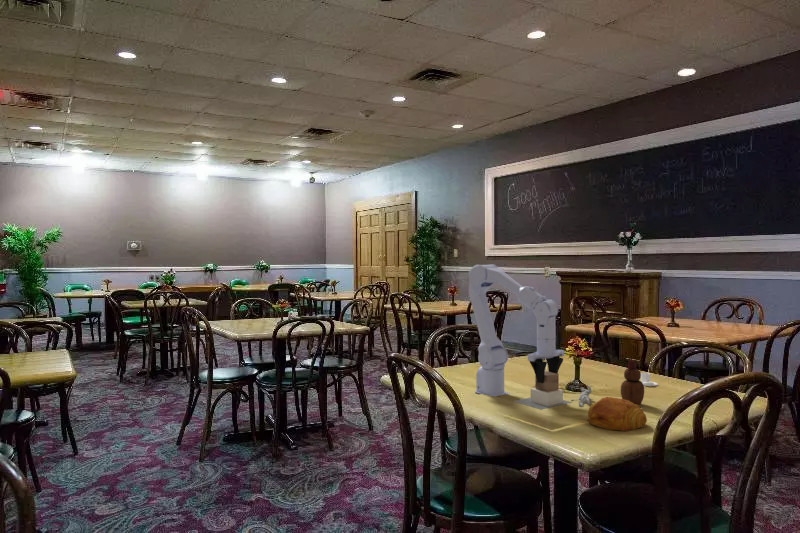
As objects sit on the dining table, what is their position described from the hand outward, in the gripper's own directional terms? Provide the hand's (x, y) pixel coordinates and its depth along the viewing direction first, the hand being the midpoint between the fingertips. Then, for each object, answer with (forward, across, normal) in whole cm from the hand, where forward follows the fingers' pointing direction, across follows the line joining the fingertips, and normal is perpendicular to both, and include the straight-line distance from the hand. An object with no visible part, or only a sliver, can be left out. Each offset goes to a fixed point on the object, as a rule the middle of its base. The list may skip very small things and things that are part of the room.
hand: (546, 381), depth 179 cm
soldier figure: (+7, +9, -7) cm, 14 cm away
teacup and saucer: (+8, +47, -1) cm, 47 cm away
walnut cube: (+2, 0, 0) cm, 2 cm away
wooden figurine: (+7, +21, -16) cm, 27 cm away
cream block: (+6, 0, 0) cm, 6 cm away
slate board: (+7, -1, +1) cm, 7 cm away
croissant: (+8, -1, -25) cm, 26 cm away
